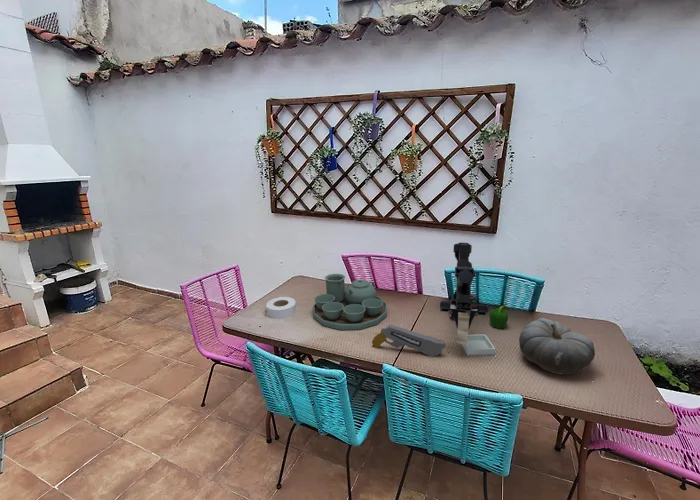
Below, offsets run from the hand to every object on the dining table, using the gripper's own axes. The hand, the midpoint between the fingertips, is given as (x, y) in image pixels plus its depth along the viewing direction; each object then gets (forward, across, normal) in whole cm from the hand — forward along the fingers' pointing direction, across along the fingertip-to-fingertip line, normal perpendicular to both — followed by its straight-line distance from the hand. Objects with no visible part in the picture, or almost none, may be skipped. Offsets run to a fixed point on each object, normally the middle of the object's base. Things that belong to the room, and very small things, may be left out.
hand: (463, 328), depth 137 cm
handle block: (+4, 0, +6) cm, 7 cm away
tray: (+3, +7, +16) cm, 18 cm away
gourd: (+6, +36, +13) cm, 38 cm away
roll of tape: (-6, -92, +26) cm, 96 cm away
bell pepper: (-12, +18, +32) cm, 38 cm away
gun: (+10, -22, +10) cm, 26 cm away
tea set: (-11, -55, +31) cm, 65 cm away
